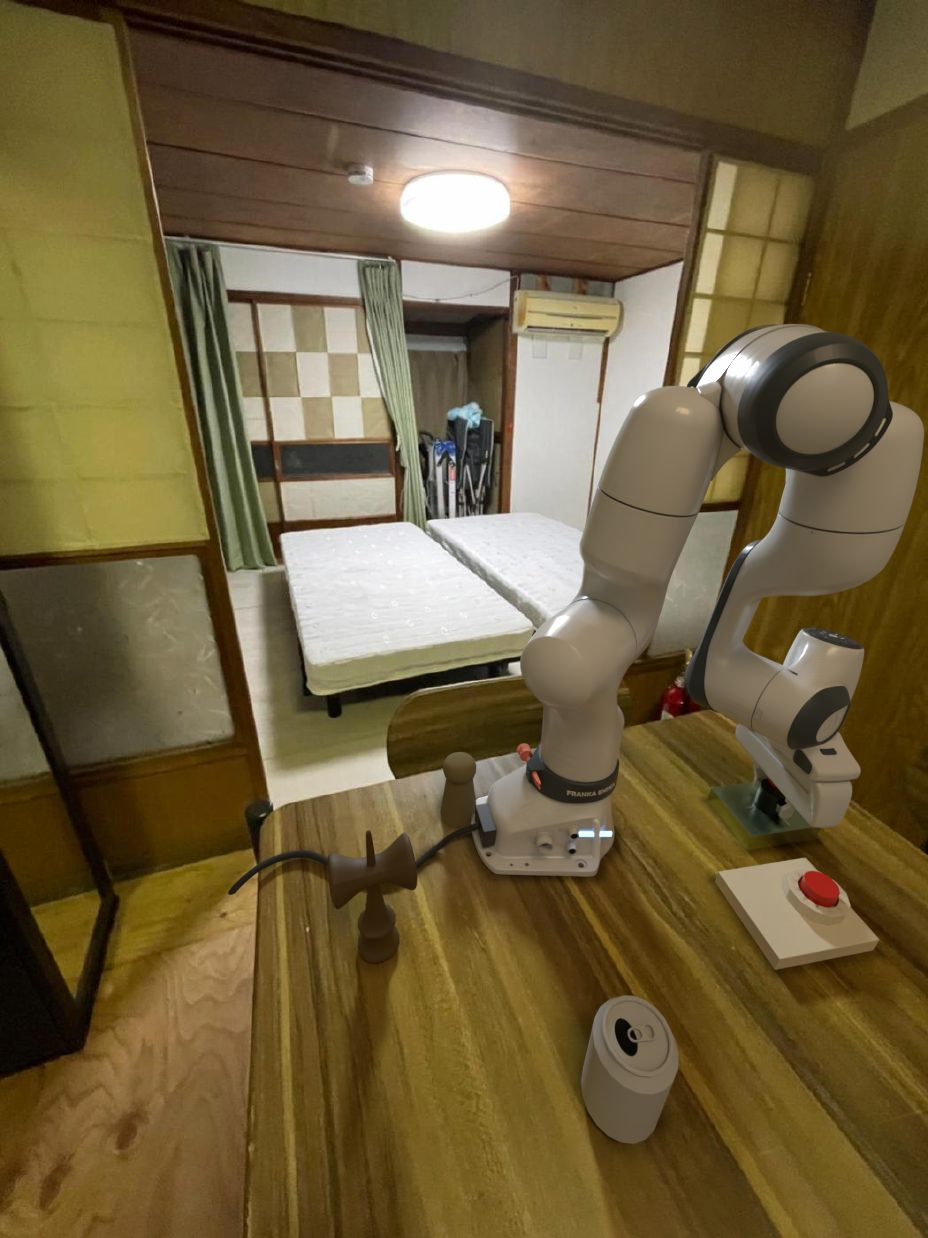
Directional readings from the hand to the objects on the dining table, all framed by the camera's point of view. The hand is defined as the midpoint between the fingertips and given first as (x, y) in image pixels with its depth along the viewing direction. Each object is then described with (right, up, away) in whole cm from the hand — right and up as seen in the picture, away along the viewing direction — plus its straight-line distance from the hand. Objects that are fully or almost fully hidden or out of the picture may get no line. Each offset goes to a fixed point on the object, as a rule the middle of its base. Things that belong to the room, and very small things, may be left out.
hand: (770, 801), depth 81 cm
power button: (-2, -7, -14) cm, 16 cm away
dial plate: (-1, -3, +2) cm, 4 cm away
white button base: (-5, -11, -13) cm, 17 cm away
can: (-33, -19, -30) cm, 49 cm away
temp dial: (0, -1, 0) cm, 1 cm away
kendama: (-59, -12, -17) cm, 63 cm away
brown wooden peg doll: (-49, -3, +3) cm, 50 cm away
